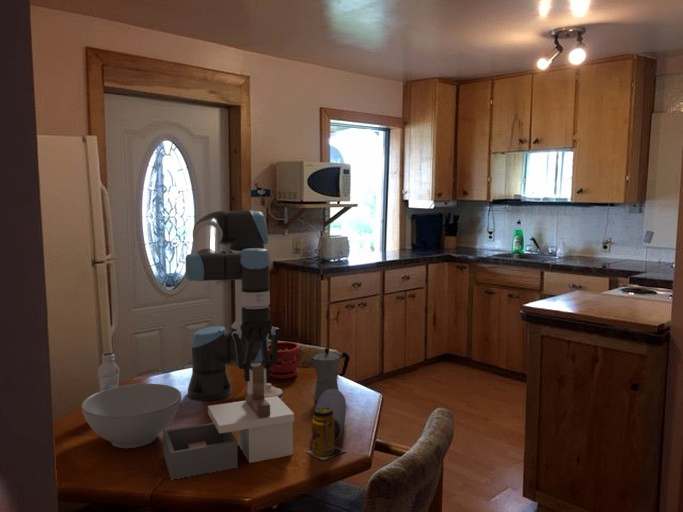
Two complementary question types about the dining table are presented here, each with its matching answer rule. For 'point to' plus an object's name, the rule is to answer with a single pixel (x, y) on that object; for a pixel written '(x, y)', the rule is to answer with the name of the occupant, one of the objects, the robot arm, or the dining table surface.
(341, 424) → the bluetooth speaker
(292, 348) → the plant pot
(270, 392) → the teacup with lid
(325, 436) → the condiment
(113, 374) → the plastic bottle
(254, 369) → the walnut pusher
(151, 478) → the dining table surface
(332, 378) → the coffeepot
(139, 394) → the decorative bowl
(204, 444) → the terracotta tile
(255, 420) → the board
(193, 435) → the box
